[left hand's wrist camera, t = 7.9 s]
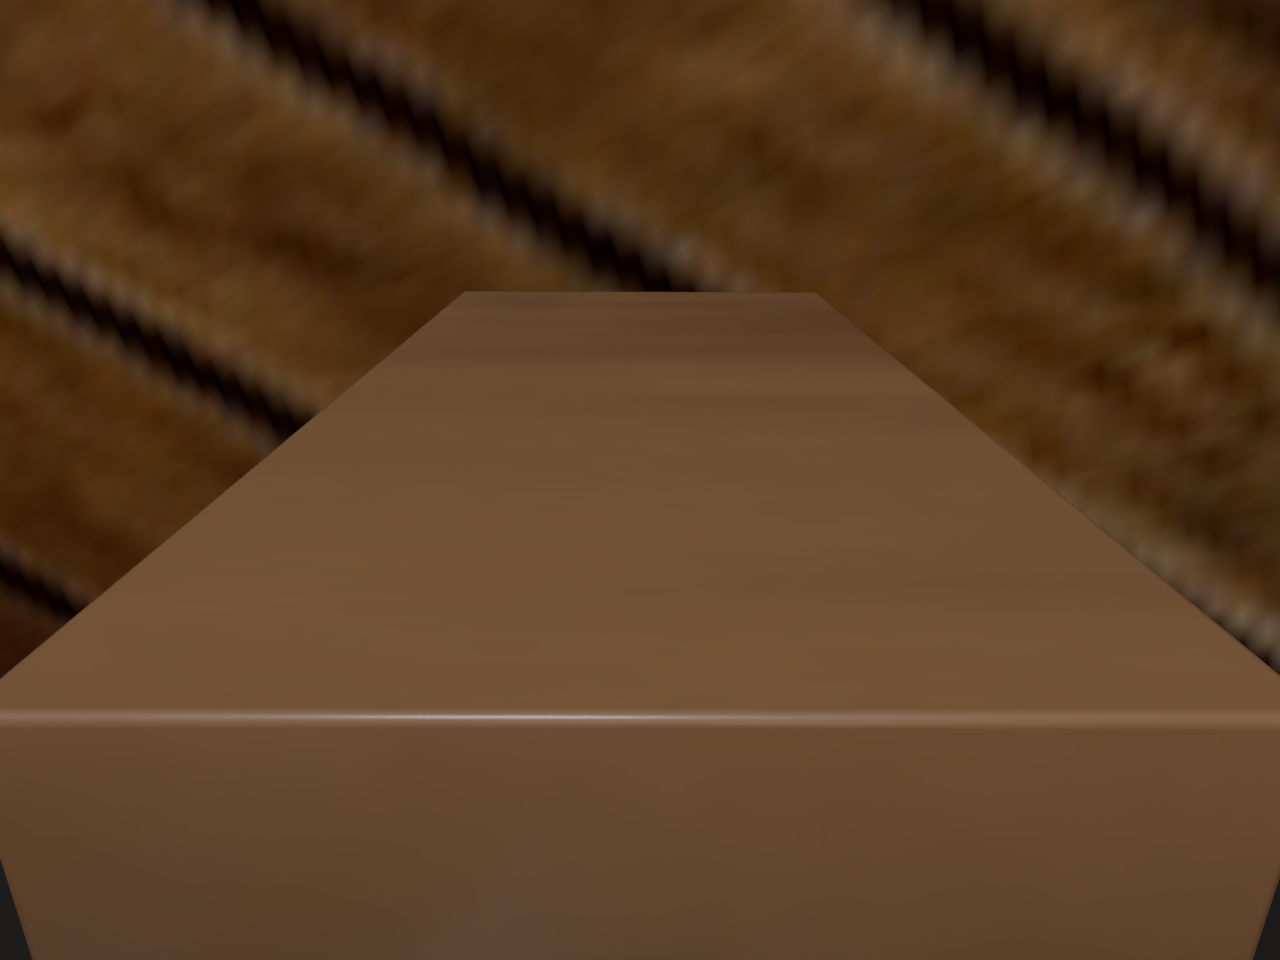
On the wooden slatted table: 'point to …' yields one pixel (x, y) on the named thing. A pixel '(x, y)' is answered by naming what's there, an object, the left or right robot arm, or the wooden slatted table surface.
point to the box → (640, 679)
